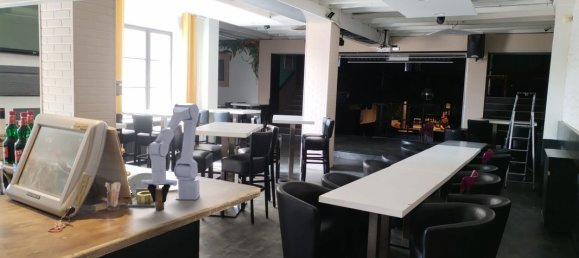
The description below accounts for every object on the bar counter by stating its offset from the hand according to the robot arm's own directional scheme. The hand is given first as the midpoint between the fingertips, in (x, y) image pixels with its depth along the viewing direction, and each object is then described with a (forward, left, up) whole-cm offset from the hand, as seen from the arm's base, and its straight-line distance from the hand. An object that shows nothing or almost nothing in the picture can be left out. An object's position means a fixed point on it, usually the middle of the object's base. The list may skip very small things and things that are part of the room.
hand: (159, 201), depth 180 cm
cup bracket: (+9, -9, -3) cm, 13 cm away
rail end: (0, 0, -3) cm, 3 cm away
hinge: (+17, -28, -4) cm, 33 cm away
